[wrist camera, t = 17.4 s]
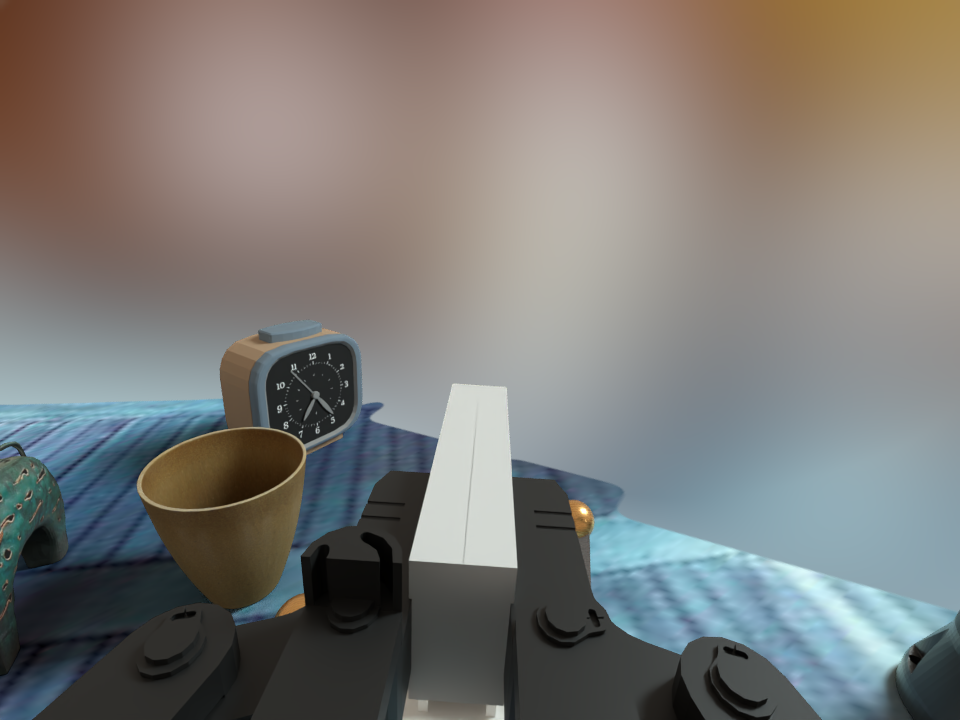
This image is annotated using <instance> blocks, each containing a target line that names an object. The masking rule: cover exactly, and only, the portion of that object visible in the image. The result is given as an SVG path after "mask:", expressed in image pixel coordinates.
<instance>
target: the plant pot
mask: <svg viewBox="0 0 960 720" xmlns="http://www.w3.org/2000/svg"><path fill="white" fill-rule="evenodd" d="M305 464H306V449H305V446H304V444H303V443H302V442H301V441H300V440H299V439H298V438H297V437H295V436H294V435H292V434H290V433H287V432H284V431H281V430H278V429H272V428H264V427H243V428H234V429H226V430H221V431H216V432H212V433H208V434H204V435H201V436H198V437H195V438H192V439H189V440H187V441H184V442H182V443H180V444H178V445H176V446H174V447H172V448H170V449H168V450H166V451H165V452H163V453H161V454H160V455H159V456H157V457H156V458H155V459H153V460H152V461H151V462H150V463H149V464H148V465H147V466H146V467H145V468H144V469H143V471H142V472H141V474H140V476H139V478H138V481H137V490H138V493H139V496H140V498H141V500H142V502H143V504H144V506H145V509H146V511H147V513H148V515H149V517H150V519H151V521H152V523H153V525H154V527H155V529H156V530H157V532H158V534H159V536H160V538H161V539H162V541H163V543H164V544H165V546H166V548H167V549H168V551H169V552H170V554H171V555H172V557H173V558H174V560H175V561H176V562H177V564H178V565H179V567H180V568H181V569H182V571H183V572H184V573H185V574H186V576H187V577H188V578H189V579H190V580H191V582H192V583H193V584H194V585H195V586H196V587H197V588H198V589H199V590H200V591H201V592H202V593H203V594H204V595H205V596H206V597H207V598H208V599H209V600H210V601H211V602H212V603H213V604H217V605H219V606H221V607H223V608H225V609H236V608H242V607H246V606H249V605H251V604H254V603H256V602H258V601H260V600H261V599H263V598H264V597H266V596H267V595H268V594H269V593H270V592H271V591H272V590H273V589H274V588H275V587H276V585H277V584H278V582H279V580H280V578H281V575H282V572H283V570H284V567H285V564H286V561H287V558H288V555H289V552H290V549H291V545H292V542H293V538H294V534H295V530H296V526H297V522H298V516H299V511H300V506H301V499H302V492H303V484H304V474H305Z"/></svg>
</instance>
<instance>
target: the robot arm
mask: <svg viewBox="0 0 960 720" xmlns="http://www.w3.org/2000/svg"><path fill="white" fill-rule="evenodd" d="M301 565H302V575H303V586H304V597H305V606H304V607H302V608H300V609H298V610H296V611H294V612H292V613H289V614H286V615H282V616H279V617H276V618H271V619H266V620H261V621H257V622H252V623H247V624H243V625H238V626H235V623H234V620H233V617H232V615H231V613H230V612H229V611H227V610H226V609H224V608H223V607H221V606H219V605H217V604H208V603H195V604H190V605H185V606H180V607H176V608H174V609H172V610H169V611H167V612H165V613H163V614H160V615H158V616H156V617H154V618H152V619H151V620H149V621H148V622H147V623H145V624H144V625H142V626H141V627H139V628H138V629H137V630H135V631H134V632H132V633H131V634H130V635H129V636H128V637H126V638H125V639H124V640H123V641H122V642H121V643H120V644H118V645H117V646H116V647H115V648H114V649H113V650H112V651H110V652H109V653H108V654H107V655H106V656H105V657H104V658H102V659H101V660H100V661H99V662H98V663H97V664H96V665H94V666H93V667H92V668H91V669H90V670H89V671H87V672H86V673H85V674H84V675H83V676H82V677H81V678H79V679H78V680H77V681H76V682H75V683H74V684H73V685H71V686H70V687H69V688H68V689H67V690H66V691H65V692H63V693H62V694H61V695H60V696H59V697H58V698H57V699H55V700H54V701H53V702H52V703H51V704H50V705H49V706H47V707H46V708H45V709H44V710H43V711H42V712H40V713H39V714H38V715H37V716H36V717H35V718H34V719H32V720H402V718H403V712H404V707H405V701H406V696H407V690H408V699H416V700H429V701H443V702H456V703H470V704H483V705H497V706H503V703H504V720H822V719H821V718H820V717H819V716H818V715H817V713H816V712H815V711H814V710H813V709H812V707H811V706H810V705H809V704H808V703H807V702H806V700H805V699H804V698H803V697H802V696H801V695H800V693H799V692H798V691H797V690H796V689H795V687H794V686H793V685H792V684H791V683H790V682H789V680H788V679H787V678H786V677H785V676H784V675H783V674H782V673H781V672H780V671H779V670H778V669H776V668H775V667H774V666H773V665H772V664H771V663H770V662H769V661H768V660H767V659H766V658H764V657H763V656H761V655H759V654H758V653H756V652H755V651H753V650H751V649H750V648H748V647H746V646H745V645H743V644H740V643H737V642H734V641H731V640H728V639H725V638H722V637H701V638H699V639H696V640H694V641H692V642H690V643H688V645H687V646H686V648H685V650H684V651H683V653H682V655H679V654H677V653H674V652H671V651H669V650H666V649H663V648H660V647H658V646H655V645H652V644H649V643H647V642H644V641H642V640H640V639H637V638H635V637H633V636H631V635H629V634H627V633H626V632H624V631H623V630H622V629H620V628H619V627H617V626H616V625H615V624H614V623H613V622H611V620H610V618H609V616H608V614H607V612H606V610H605V609H604V608H603V607H602V606H601V605H600V604H599V603H598V602H597V601H596V600H595V598H594V596H593V593H592V590H591V587H590V583H589V579H588V575H587V571H586V567H585V563H584V559H583V555H582V551H581V547H580V543H579V539H578V535H577V532H576V527H575V523H574V519H573V516H572V511H571V507H570V503H569V499H568V495H567V494H566V493H565V492H564V491H563V490H562V488H561V487H560V486H559V485H558V484H557V483H556V481H555V480H548V479H533V478H518V477H512V470H511V453H510V438H509V422H508V404H507V388H506V387H496V386H481V385H465V384H452V389H451V393H450V397H449V401H448V405H447V409H446V413H445V417H444V421H443V425H442V429H441V433H440V437H439V441H438V445H437V449H436V453H435V457H434V461H433V465H432V469H431V473H418V472H403V471H390V472H389V473H388V474H386V475H385V476H384V477H383V478H382V479H381V480H379V481H378V482H377V483H376V484H375V486H374V488H373V490H372V492H371V495H370V497H369V499H368V504H366V506H365V508H364V511H363V513H362V516H361V519H360V520H359V522H358V524H357V526H349V527H344V528H341V529H338V530H335V531H332V532H328V533H327V534H325V535H324V536H322V537H320V538H319V539H317V540H316V541H314V542H313V543H312V544H311V545H310V546H309V547H308V548H307V549H306V551H305V552H304V553H303V554H302V555H301ZM896 684H897V688H898V691H899V694H900V696H901V699H902V701H903V703H904V704H905V706H906V708H907V710H908V711H909V713H910V714H911V716H912V717H913V719H914V720H960V610H959V612H958V614H957V616H956V617H955V619H954V620H953V621H952V622H951V623H949V624H947V625H946V626H944V627H942V628H941V629H939V630H937V631H936V632H934V633H932V634H931V635H929V636H927V637H926V638H924V639H922V640H920V641H919V642H917V643H915V644H914V645H912V646H911V647H910V648H909V649H908V650H907V651H906V652H905V654H904V656H903V658H902V660H901V662H900V664H899V666H898V668H897V671H896Z"/></svg>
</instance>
